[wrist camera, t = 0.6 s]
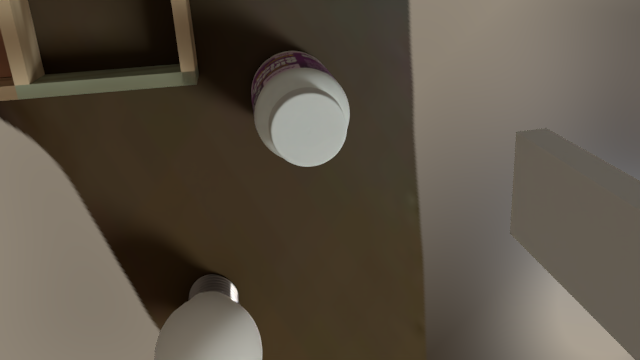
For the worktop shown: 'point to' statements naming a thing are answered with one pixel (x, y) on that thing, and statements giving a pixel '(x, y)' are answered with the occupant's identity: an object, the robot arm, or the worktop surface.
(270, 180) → the worktop surface
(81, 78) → the tray
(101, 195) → the worktop surface
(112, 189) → the worktop surface
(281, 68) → the pill bottle
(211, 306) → the light bulb
